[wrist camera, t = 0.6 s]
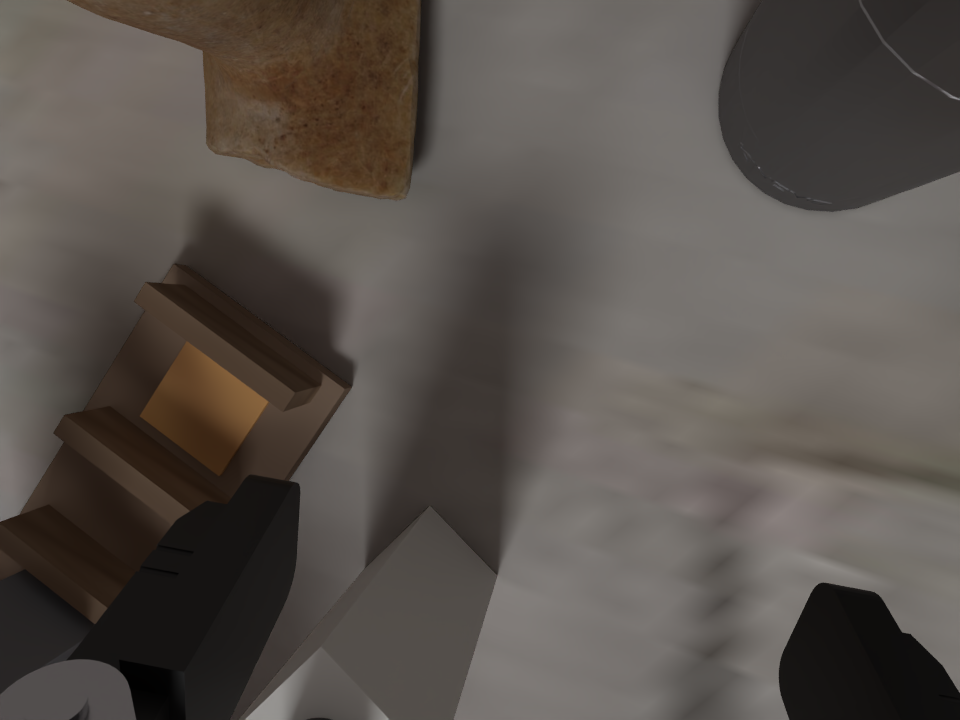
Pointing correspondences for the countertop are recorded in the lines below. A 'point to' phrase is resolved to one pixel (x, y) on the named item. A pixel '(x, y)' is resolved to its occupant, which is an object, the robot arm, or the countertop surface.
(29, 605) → the grey square bottle
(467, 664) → the white square bottle
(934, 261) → the countertop surface
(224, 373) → the comb rack
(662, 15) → the countertop surface
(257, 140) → the stone cup
